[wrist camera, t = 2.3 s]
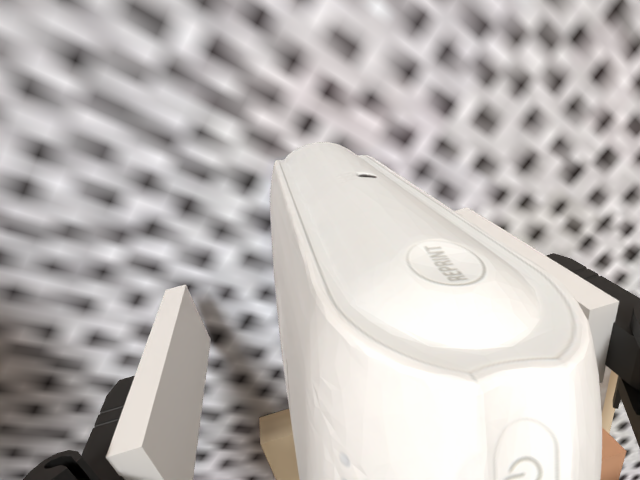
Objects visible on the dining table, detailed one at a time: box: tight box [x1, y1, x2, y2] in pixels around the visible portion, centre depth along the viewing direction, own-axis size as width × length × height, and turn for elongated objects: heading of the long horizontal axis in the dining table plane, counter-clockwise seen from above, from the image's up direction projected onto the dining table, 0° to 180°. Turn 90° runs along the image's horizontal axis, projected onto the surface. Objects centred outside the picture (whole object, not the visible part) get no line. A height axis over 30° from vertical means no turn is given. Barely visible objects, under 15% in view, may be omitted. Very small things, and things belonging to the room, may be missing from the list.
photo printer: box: [270, 142, 602, 480], centre depth 10 cm, size 10×4×12 cm, turn 1°
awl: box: [599, 366, 626, 480], centre depth 21 cm, size 14×2×2 cm, turn 12°
